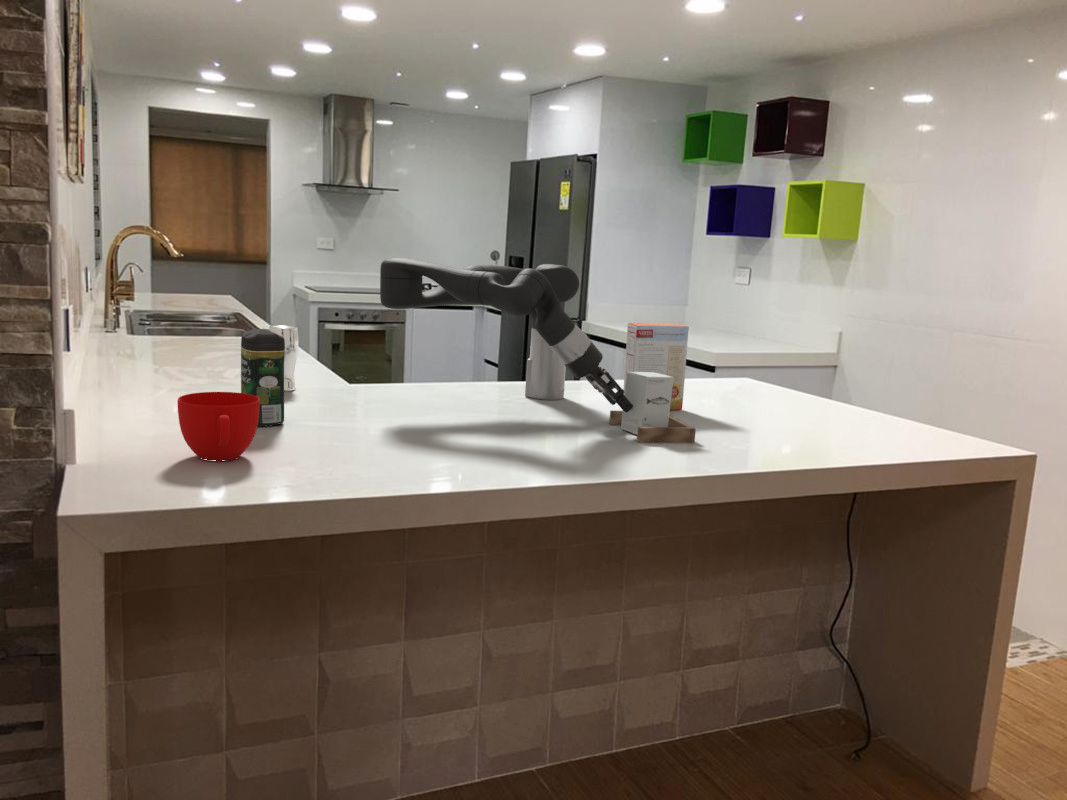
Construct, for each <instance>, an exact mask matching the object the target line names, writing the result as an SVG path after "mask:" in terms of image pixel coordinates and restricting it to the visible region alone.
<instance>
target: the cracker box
mask: <svg viewBox="0 0 1067 800" xmlns="http://www.w3.org/2000/svg"><path fill="white" fill-rule="evenodd" d="M689 329H690V328H689V326H688V325H686V324H685V325H684V324H681V323H655V322H651V323H650V322H629V323H627V332H626V345H625V346H626V347H625V358H624V359H625V363H624V376H623V377H624V379H623V387H622V389H623V390H624V392H625V386H626V376H627V372H655V373H659V374H663V375H667V376H671V377H674V379H673V387H672V396H671V404H670V411H682V410H683V405H684V404H683V403H684V402H683V401H684V391H685V378H686V368H687V367H686V365H687V352H688V341H689V340H688V339H689ZM624 395H625V393H624Z"/></svg>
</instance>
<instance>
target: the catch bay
mask: <svg viewBox="0 0 1067 800" xmlns="http://www.w3.org/2000/svg"><path fill="white" fill-rule="evenodd" d="M622 413H623V410H610V412H609V423H608V424H609V425H611V426H621V422H622ZM696 430H697V428H696V427H694V426H691V425H689V424H688V423H686V422H684V421H682V420H680V419H678V418H676V417H674V416H672V415H670V414H669V422H668V427H638V435H637V439H636V442H638V443H640V444H642V443H643V444H644V443H645V444H646V443H650V444H651V443H660V444H661V443H663V444H664V443H665V444H666V443H667V444H668V443H670V444H672V443H673V444H678V443H679V444H685V443H686V444H690V443H691V444H692V443H693V444H695V439H696Z"/></svg>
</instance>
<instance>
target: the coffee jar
mask: <svg viewBox="0 0 1067 800" xmlns="http://www.w3.org/2000/svg"><path fill="white" fill-rule="evenodd" d="M240 340H241V341H240V393H245V394H250V395H254V396H257V397H258V398H259V399H260V410H259V420H258V426H260V427H264V428H266V427H274V426H276V425H282V424H283V423H284V422H285V391H284V358H285V340H284V338H283V337H282V336H280V335H278V334H276V333H274V332H272V331H270V330H269V328H268V329H267V328H249V329H248V330H246V331H245V332H243V333H242V334H241V339H240ZM258 426H257V427H258Z"/></svg>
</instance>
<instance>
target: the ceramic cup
mask: <svg viewBox="0 0 1067 800" xmlns="http://www.w3.org/2000/svg"><path fill="white" fill-rule="evenodd" d="M259 410H260V399H259V398H258V397H257V396H254V395H250V394H245V393H241V392H236V391H235V392H234V391H232V392H231V391H203V392H195V393H194V392H193V393H188V394H183V395H181V396H179V397H178V398H177V413H178V423H179V427H180V432H181V434H182V437H183V439H184V441H185V444H187V446H188V448H189V449H190V450H191V451H192V452H193V453H194V454H195V455H196V456H197V458H198V457H199V458H202V459H207V460H216V461H222V460H231V461H233V460H232V459H235V460H237V459H236V458H238V459H240V457H241V455H242V454H243V453H245V451H246V450H247V449H248V448H249V446H250V445H251V443H252V442H253V440H254V438H255V436H256V433H257V429H258V420H259ZM199 458H198V459H199ZM222 462H223V461H222Z"/></svg>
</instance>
